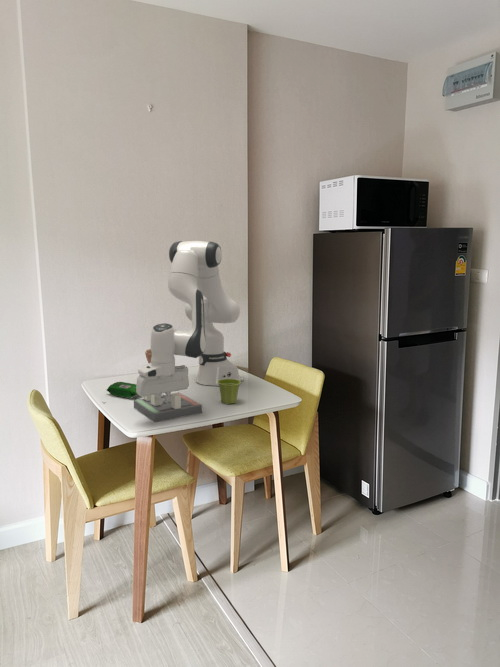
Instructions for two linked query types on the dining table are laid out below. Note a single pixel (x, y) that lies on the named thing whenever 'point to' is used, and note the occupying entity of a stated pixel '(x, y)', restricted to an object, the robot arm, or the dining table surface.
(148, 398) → the inner breaker
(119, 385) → the snack package
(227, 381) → the plant pot
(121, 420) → the dining table surface
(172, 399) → the block
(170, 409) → the panel
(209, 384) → the robot arm
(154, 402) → the block
